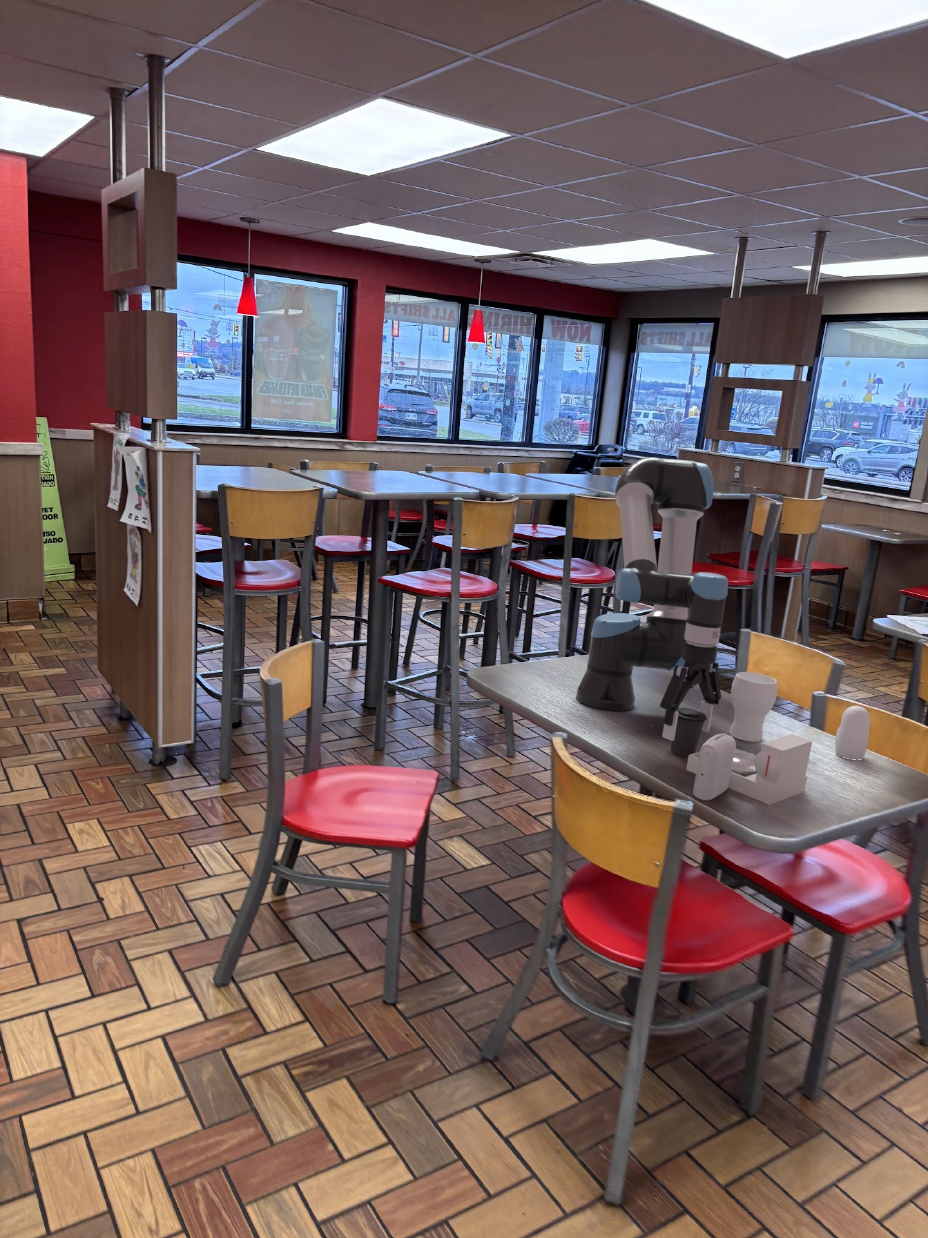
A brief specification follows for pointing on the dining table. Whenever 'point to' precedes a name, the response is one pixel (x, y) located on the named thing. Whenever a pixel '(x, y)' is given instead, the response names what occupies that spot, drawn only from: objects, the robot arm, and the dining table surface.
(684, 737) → the coffee cup
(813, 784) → the dining table surface
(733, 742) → the photo printer
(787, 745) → the base
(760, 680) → the cup
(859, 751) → the figurine
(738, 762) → the pan
